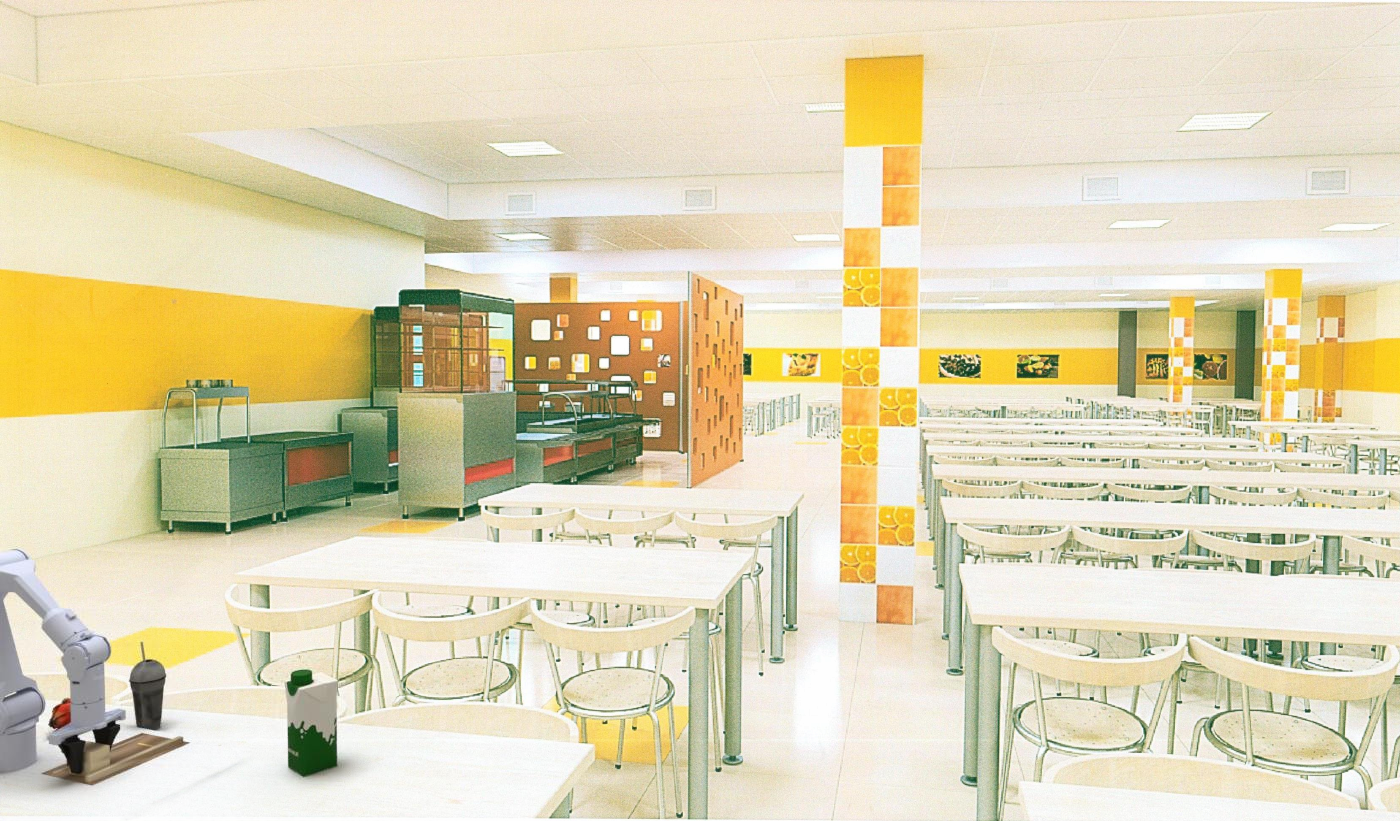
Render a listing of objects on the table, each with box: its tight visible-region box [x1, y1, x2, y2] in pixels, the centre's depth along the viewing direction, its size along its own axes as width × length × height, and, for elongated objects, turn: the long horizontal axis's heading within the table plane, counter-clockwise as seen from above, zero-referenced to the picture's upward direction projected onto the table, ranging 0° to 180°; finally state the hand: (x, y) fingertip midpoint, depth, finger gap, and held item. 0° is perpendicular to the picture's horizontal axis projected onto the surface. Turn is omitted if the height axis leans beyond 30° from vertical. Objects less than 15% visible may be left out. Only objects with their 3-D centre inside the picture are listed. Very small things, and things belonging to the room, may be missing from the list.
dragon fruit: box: [47, 697, 71, 731], centre depth 213 cm, size 8×8×12 cm
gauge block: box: [60, 740, 110, 777], centre depth 190 cm, size 10×4×5 cm, turn 69°
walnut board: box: [41, 732, 191, 786], centre depth 196 cm, size 14×22×3 cm, turn 159°
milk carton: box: [284, 669, 339, 778], centre depth 196 cm, size 9×9×20 cm
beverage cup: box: [128, 641, 167, 732], centre depth 215 cm, size 7×7×20 cm
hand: (89, 767), depth 189 cm, fingers open, 5 cm apart
